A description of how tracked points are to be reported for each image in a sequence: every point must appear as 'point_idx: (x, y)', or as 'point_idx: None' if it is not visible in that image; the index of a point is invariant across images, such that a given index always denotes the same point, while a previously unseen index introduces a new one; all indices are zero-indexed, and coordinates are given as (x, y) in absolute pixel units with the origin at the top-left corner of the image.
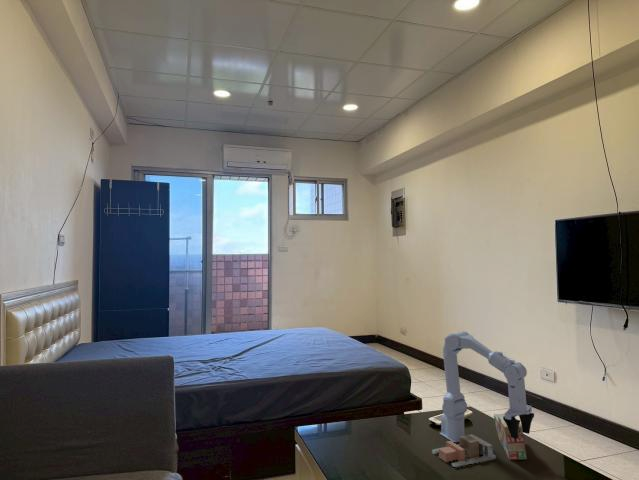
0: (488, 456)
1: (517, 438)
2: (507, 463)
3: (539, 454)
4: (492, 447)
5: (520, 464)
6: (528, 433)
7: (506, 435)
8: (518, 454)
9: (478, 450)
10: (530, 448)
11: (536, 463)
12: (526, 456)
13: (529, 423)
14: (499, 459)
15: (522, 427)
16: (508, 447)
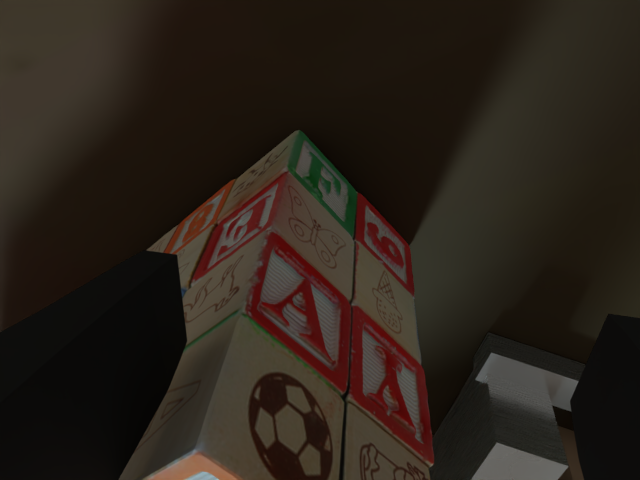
0: (562, 385)
1: (616, 315)
2: (502, 231)
3: (54, 103)
4: (499, 427)
5: (425, 138)
6: (169, 254)
7: (429, 458)
8: (348, 211)
9: (577, 477)
10: (28, 210)
11: (265, 32)
12: (294, 141)
13: (8, 397)
14: (472, 307)
15: (146, 413)
16: (414, 326)
